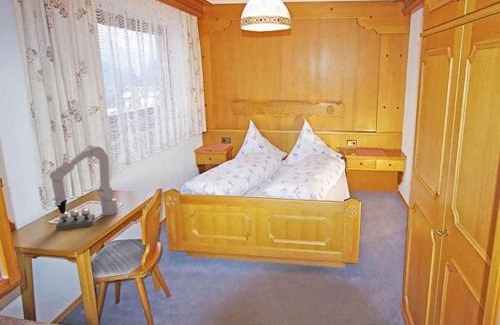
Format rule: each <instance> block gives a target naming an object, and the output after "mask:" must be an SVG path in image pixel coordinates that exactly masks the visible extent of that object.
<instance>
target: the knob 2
mask: <svg viewBox="0 0 500 325" xmlns="http://www.w3.org/2000/svg"><path fill="white" fill-rule="evenodd" d="M80 211H81V216H85V219H88V215H90V214H91V212H90V208H89V207H88V208H86V207H85V208H83V209H81V210H80Z"/></svg>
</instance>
